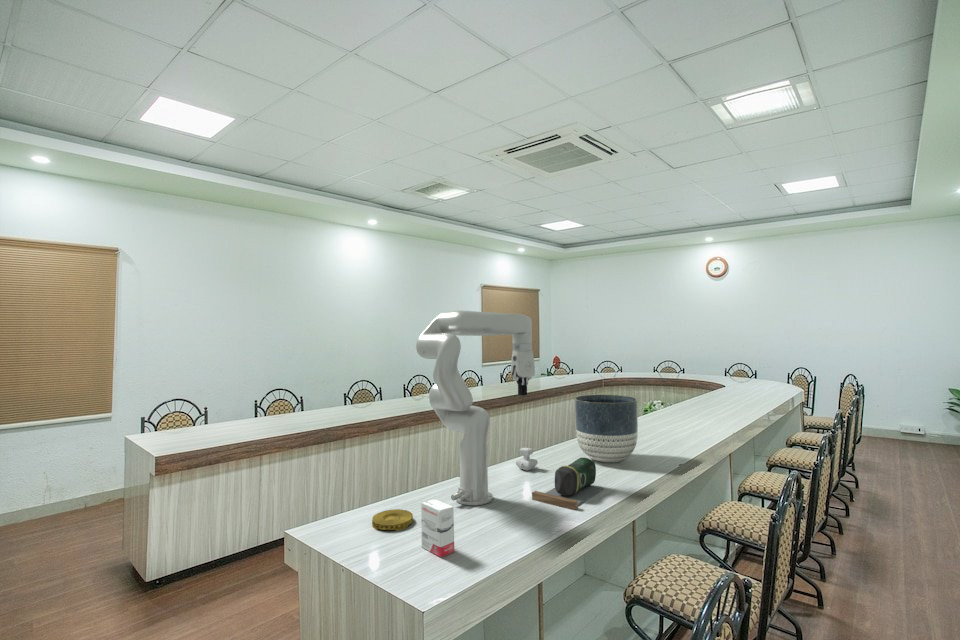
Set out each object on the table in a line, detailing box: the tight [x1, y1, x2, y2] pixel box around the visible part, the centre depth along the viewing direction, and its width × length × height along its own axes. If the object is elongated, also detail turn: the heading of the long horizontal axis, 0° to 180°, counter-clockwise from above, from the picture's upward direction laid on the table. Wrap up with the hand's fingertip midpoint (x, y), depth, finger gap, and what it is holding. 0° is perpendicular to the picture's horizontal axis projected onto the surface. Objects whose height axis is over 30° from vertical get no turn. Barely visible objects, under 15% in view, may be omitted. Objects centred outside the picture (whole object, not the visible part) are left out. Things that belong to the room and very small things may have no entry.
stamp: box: [515, 447, 538, 472], centre depth 192 cm, size 9×7×8 cm
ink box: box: [420, 498, 455, 558], centre depth 122 cm, size 8×5×12 cm, turn 43°
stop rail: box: [531, 490, 579, 511], centre depth 153 cm, size 2×16×2 cm, turn 51°
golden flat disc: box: [371, 508, 414, 532], centre depth 139 cm, size 12×12×2 cm
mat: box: [545, 484, 604, 506], centre depth 162 cm, size 21×14×1 cm, turn 141°
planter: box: [574, 394, 639, 463], centre depth 204 cm, size 27×27×27 cm
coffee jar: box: [554, 457, 597, 496], centre depth 164 cm, size 10×8×19 cm
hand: (522, 395), depth 180 cm, fingers closed
